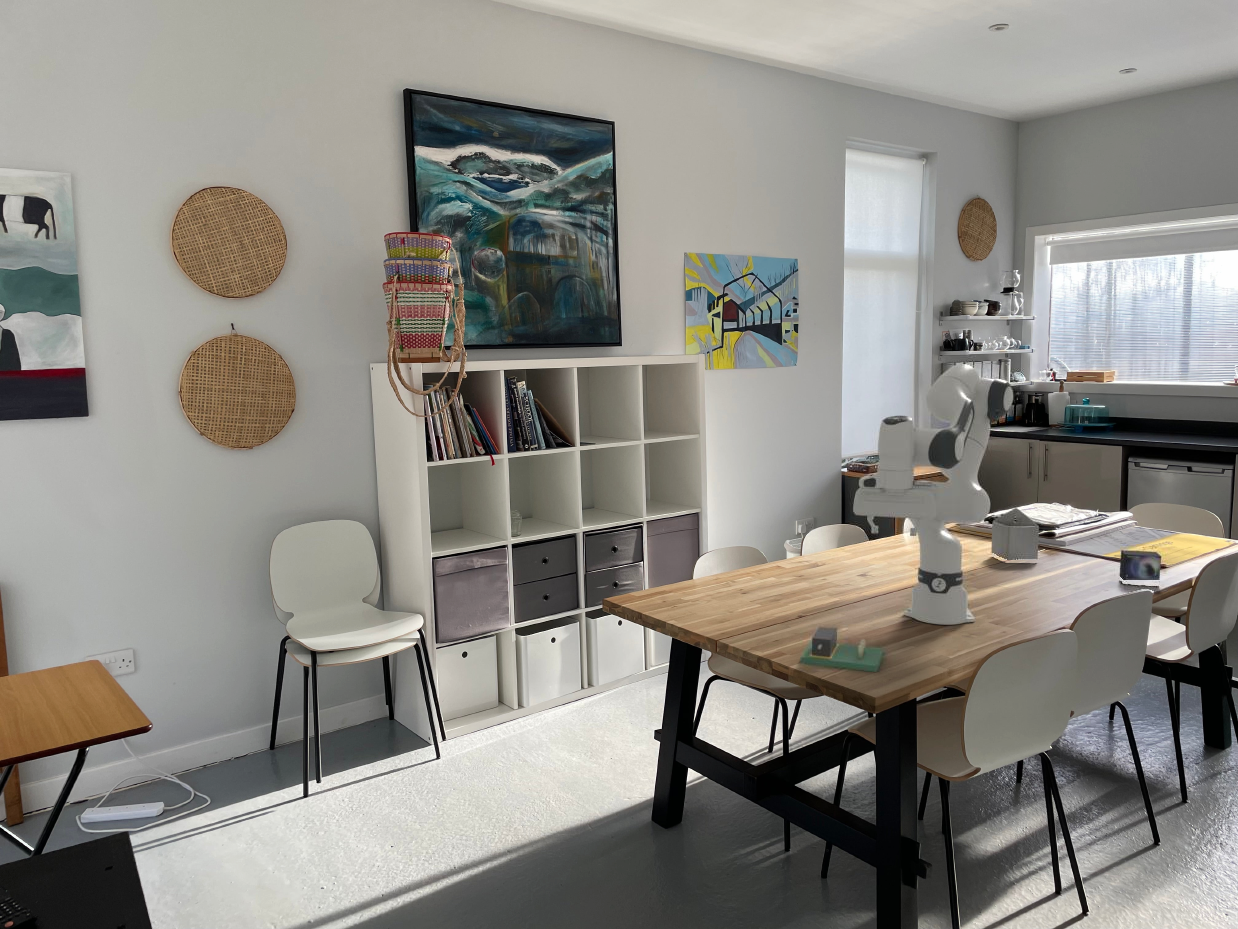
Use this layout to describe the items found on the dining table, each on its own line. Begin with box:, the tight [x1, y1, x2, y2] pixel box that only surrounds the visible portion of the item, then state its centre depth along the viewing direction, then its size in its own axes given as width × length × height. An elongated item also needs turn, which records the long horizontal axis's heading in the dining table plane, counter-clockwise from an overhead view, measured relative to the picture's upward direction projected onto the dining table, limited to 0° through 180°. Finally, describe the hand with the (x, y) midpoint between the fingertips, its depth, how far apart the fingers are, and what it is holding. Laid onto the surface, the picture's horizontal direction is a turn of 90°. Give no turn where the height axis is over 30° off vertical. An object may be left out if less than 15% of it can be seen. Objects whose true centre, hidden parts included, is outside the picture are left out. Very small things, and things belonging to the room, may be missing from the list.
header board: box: [800, 639, 885, 673], centre depth 221 cm, size 14×18×4 cm
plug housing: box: [811, 626, 838, 657], centre depth 222 cm, size 13×4×4 cm, turn 157°
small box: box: [1119, 549, 1162, 580], centre depth 291 cm, size 11×6×10 cm, turn 73°
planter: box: [991, 507, 1040, 560], centre depth 324 cm, size 16×8×19 cm, turn 48°
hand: (893, 534), depth 228 cm, fingers open, 8 cm apart
